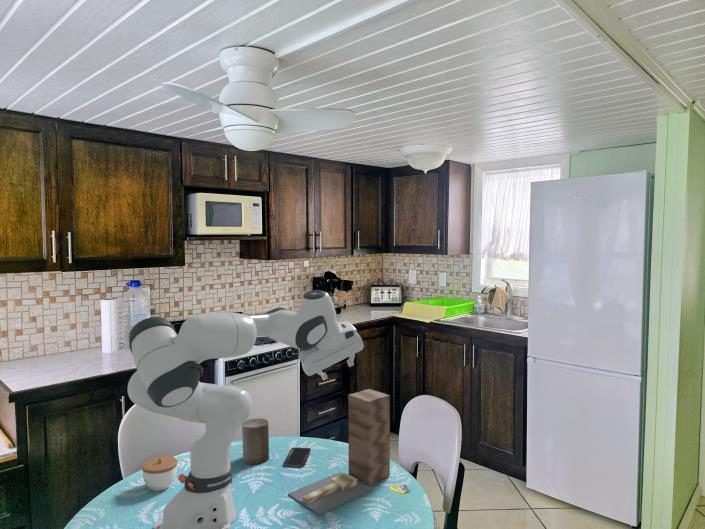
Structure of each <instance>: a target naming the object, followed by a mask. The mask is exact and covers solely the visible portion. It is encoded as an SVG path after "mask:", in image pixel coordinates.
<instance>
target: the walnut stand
mask: <svg viewBox="0 0 705 529" xmlns="http://www.w3.org/2000/svg"><path fill="white" fill-rule="evenodd" d="M347 398H348V400H347V404H348V411H347V412H348V416H347V417H348V424H347V425H348V428H347V429H348V475H350V476H352V477H354V478H356V479H357V480H358V481H360V482H361V483H363V484H365V485H367V486H369V487H370V486H371V485H373V484H375V483H377V482H380V481H383V480H384V479H387V478H389V477H390V476H391V475H390V474H391V471H390V468H391V466H390V463H391V460H390V458H391V455H390V454H391V451H390V450H391V445H390V443H391V442H390V441H391V437H390V436H391V435H390V434H391V430H390V429H391V425H390V424H391V421H390V420H391V419H390V416H391V414H390V412H391V411H390V410H391V408H390V406H391V404H390V403H391V401H390V399H391V398H390V394H387V393H384V392H381V391H377V390H375V389H371V388H368V389H363V390H361V391H357V392H354V393H350V394H348V396H347ZM388 476H389V477H388ZM386 477H387V478H386Z"/></svg>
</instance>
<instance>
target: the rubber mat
mask: <svg viewBox="0 0 705 529" xmlns="http://www.w3.org/2000/svg"><path fill="white" fill-rule="evenodd" d="M343 473H344V472H343V471H339V472H337V473H334V474H332V475H330V476H327V477H325V478H323V479H319V480H317V481H314V482H313V483H310V484H307V485H305V486H302V487H300V488H298V489H296V490H292V491H290V492H288V493H287V494H288V496H289V497H291V498H293V500H295V501H296V502H298V503H300V504H301V505H303V506H305V507H306V508H307V509H309V510H310V511H311V512H313V513H315V514H317V516H321V515H323V514H326V513H328V512H330V511H331V510H334V509H337V508H339V507H340V506H343V505H344V504H346V503H349V502H351V501H354V500H355V499H357V498H360V497H361V496H363V495H366V494H367V493H370V492H372V491H374V488H373V487H371V486H370V485H369V486H368V485H366V484H365V483H363V482H361V481H359V480H357V485H356V486H354V487H351V488H349V489H347V490H345V491H342V490H340V489H339V490H337V491H335V492H332V493H330V494H328V495H326V496H324V497H322V498H319V499H317V500H315V501H313V502H311V503H309V504H307V503H305V502H304V501H303V496H305V495H307V494H309V493H312V492H314V491H316V490H318V489H321V488H323V487H325V486H328V485H330V484H331V478H334V477H336V476H338V475H341V474H343Z"/></svg>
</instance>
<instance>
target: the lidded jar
mask: <svg viewBox="0 0 705 529" xmlns="http://www.w3.org/2000/svg"><path fill="white" fill-rule="evenodd" d="M141 469H142V478H143V482H144V484H145V485H146V486H147V487H148V488H149V489H150V490H151V491H153V492H160V491H164V490H167V489H168V488H170V486H171V485H172V484H173V482H174V481H175V479H176V477H177V472H178V459H177V458H176V457H173V456H169V455H168V456H166V455H165V456H158V457H154V458H150V459H148V460H146V461H145V462H143V464H142V466H141Z"/></svg>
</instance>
